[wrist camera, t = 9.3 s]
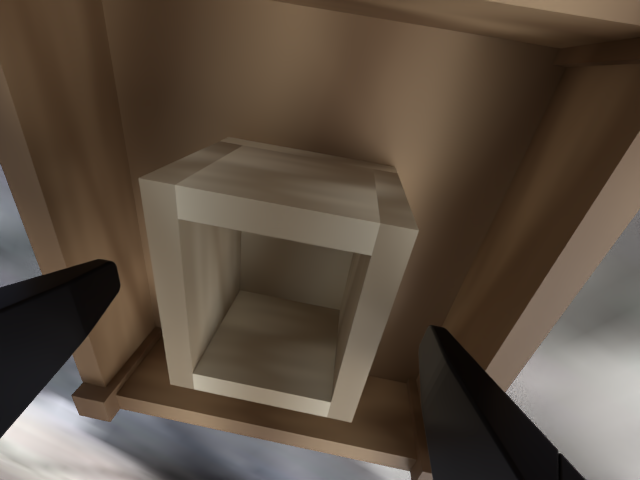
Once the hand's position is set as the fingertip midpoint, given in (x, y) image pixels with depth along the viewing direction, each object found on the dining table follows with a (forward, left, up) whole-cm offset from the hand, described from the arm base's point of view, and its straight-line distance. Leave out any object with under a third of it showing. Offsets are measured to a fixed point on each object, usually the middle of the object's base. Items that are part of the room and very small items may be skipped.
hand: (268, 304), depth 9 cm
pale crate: (0, 0, -4) cm, 4 cm away
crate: (0, 0, -5) cm, 5 cm away
